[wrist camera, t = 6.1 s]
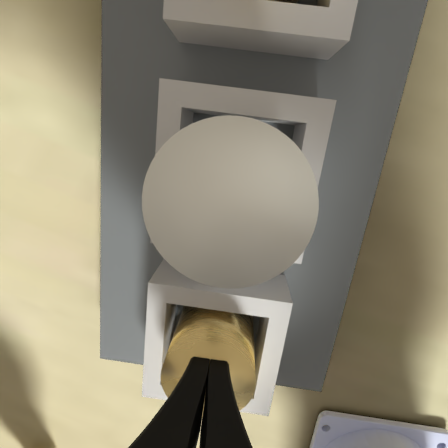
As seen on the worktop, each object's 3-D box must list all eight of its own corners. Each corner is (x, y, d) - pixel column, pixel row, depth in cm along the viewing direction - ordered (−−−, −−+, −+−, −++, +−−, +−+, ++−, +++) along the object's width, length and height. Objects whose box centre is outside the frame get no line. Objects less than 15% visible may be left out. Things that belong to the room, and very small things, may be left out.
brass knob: (247, 353, 16) (248, 424, 12) (178, 343, 16) (157, 410, 12) (258, 292, 15) (262, 348, 11) (184, 282, 15) (163, 334, 11)
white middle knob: (279, 239, 10) (299, 299, 7) (177, 224, 11) (138, 276, 7) (299, 130, 9) (337, 128, 6) (185, 116, 10) (145, 103, 6)
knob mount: (313, 364, 18) (334, 436, 14) (115, 334, 18) (75, 396, 14) (431, -103, 12) (541, -242, 7) (125, -135, 12) (58, -286, 8)
